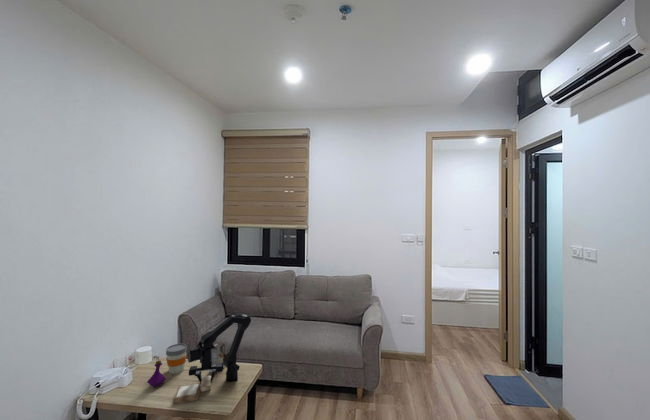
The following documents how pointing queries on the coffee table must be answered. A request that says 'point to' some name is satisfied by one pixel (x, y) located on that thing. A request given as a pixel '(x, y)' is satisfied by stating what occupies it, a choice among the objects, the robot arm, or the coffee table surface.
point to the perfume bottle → (157, 375)
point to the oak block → (206, 383)
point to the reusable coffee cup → (176, 358)
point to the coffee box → (218, 354)
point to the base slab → (187, 393)
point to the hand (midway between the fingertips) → (206, 383)
